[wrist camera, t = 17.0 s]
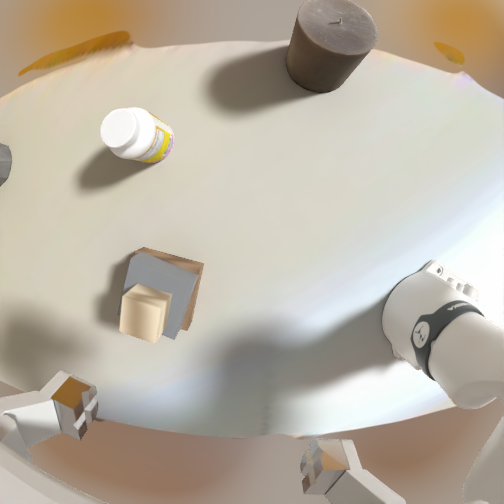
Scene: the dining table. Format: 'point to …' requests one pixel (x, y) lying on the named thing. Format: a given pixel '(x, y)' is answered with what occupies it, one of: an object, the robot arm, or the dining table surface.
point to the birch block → (145, 312)
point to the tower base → (187, 265)
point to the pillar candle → (329, 43)
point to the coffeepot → (4, 163)
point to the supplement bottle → (137, 135)
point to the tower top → (162, 286)
